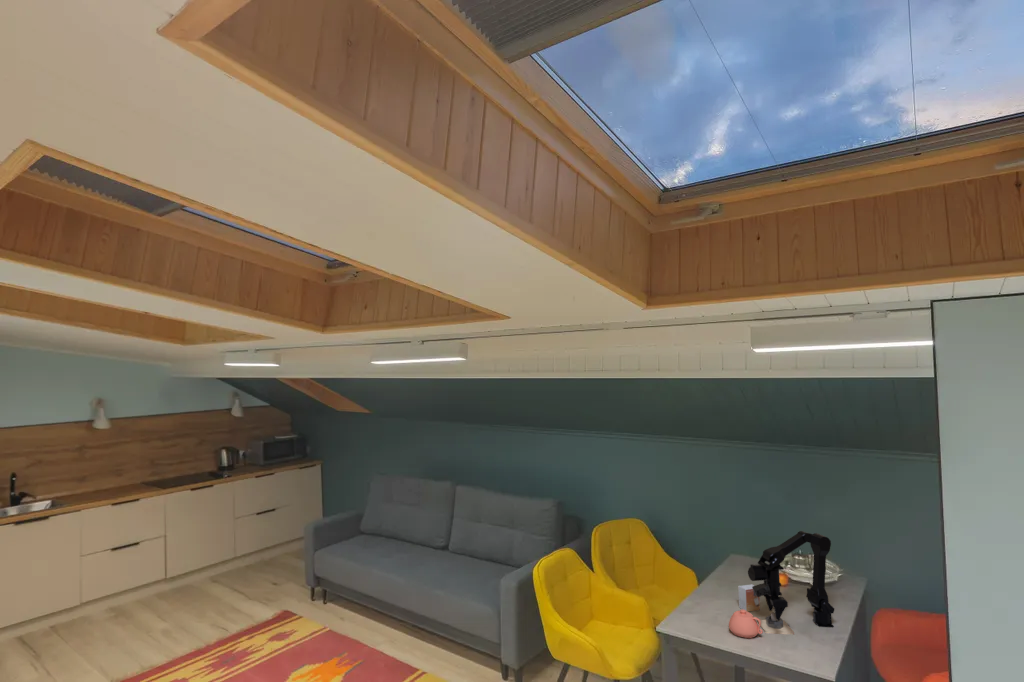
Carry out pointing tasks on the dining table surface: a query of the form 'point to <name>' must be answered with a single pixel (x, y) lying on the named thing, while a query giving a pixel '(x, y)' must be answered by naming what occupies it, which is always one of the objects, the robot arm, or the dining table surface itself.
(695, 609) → the dining table surface
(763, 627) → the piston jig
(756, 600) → the small box
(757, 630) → the sugar bowl
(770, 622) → the ring
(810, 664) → the dining table surface
